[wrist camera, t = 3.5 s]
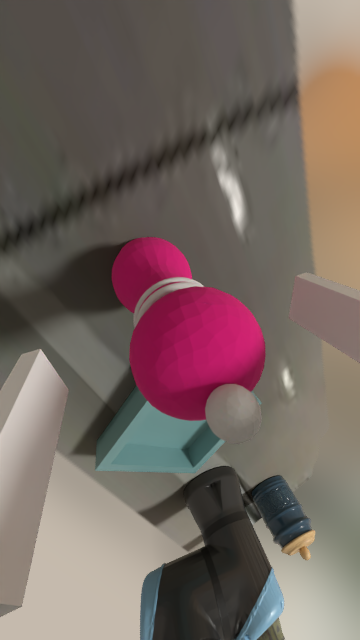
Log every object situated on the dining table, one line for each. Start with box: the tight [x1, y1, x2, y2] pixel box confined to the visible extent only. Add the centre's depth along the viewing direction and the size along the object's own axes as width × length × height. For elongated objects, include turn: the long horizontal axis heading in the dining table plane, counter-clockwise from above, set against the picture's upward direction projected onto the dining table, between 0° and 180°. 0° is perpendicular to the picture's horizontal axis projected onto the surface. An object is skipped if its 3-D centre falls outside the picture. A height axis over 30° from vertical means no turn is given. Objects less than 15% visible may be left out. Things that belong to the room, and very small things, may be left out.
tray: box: [95, 385, 261, 473], centre depth 34 cm, size 20×20×4 cm
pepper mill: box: [112, 237, 265, 444], centre depth 14 cm, size 7×7×20 cm
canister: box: [252, 476, 315, 560], centre depth 63 cm, size 13×13×18 cm
